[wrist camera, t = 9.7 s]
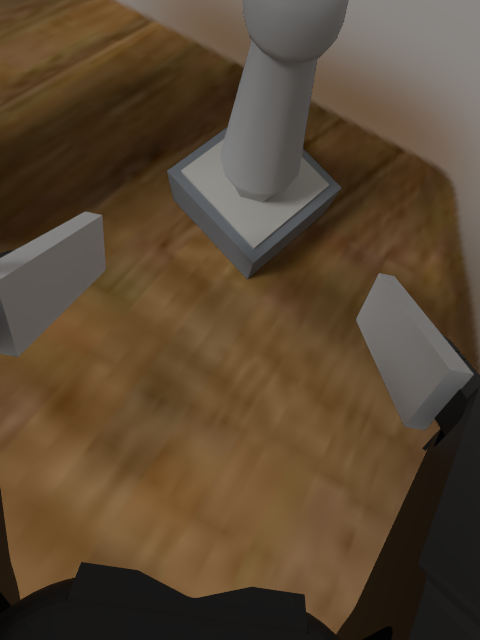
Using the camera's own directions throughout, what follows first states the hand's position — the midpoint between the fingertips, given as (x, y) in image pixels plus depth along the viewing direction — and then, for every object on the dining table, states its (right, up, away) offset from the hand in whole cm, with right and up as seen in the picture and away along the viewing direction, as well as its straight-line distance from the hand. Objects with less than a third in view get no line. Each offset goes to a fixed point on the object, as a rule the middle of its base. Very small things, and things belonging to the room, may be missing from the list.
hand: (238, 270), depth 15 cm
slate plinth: (+1, +8, +14) cm, 16 cm away
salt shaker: (+1, +9, +10) cm, 13 cm away
